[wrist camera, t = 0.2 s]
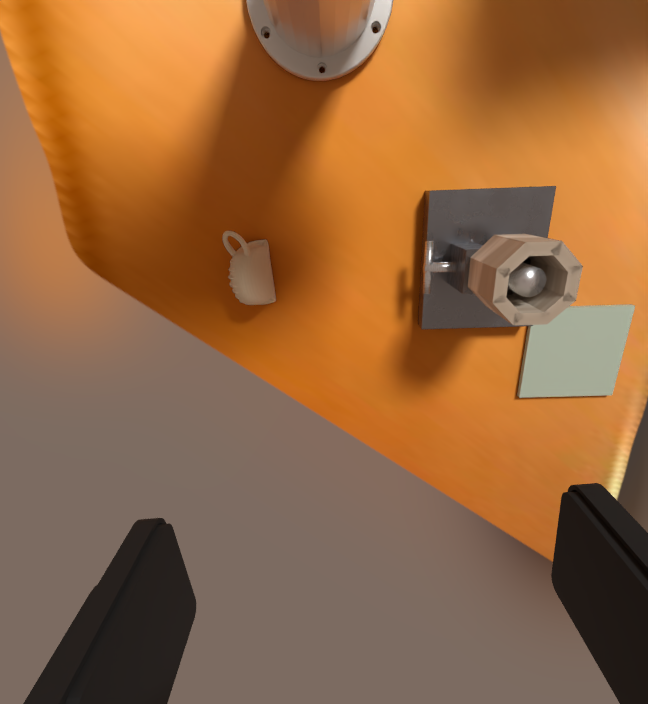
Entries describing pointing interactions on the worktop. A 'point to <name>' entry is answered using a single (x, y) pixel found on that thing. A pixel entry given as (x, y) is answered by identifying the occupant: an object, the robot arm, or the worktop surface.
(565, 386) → the mat
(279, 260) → the worktop surface
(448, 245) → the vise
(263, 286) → the decorative ornament
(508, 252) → the hollow octagonal tube
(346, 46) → the robot arm
